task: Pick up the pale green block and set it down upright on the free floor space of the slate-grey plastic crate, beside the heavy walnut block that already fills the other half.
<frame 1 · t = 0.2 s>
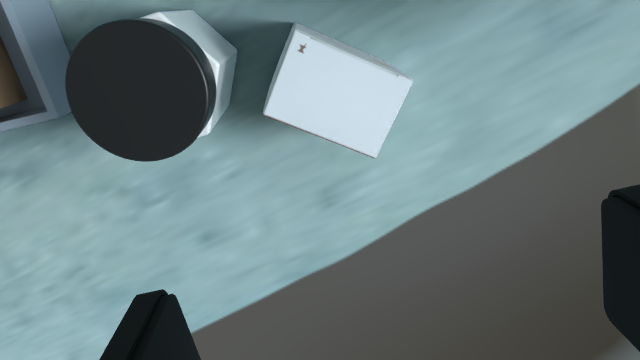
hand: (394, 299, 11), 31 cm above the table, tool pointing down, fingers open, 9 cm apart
jar: (185, 67, 39), on the table
small box: (327, 73, 40), on the table
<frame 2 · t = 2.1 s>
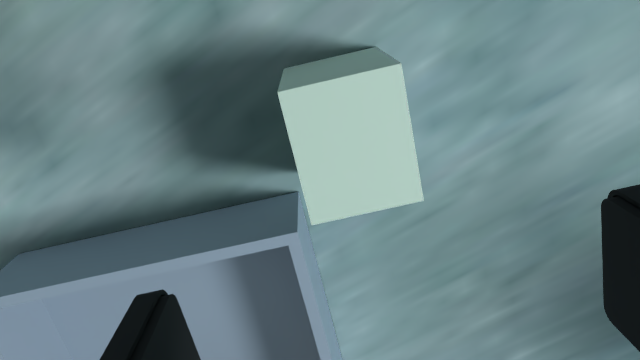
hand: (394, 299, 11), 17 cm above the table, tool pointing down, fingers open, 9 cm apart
pale green block: (341, 112, 27), on the table
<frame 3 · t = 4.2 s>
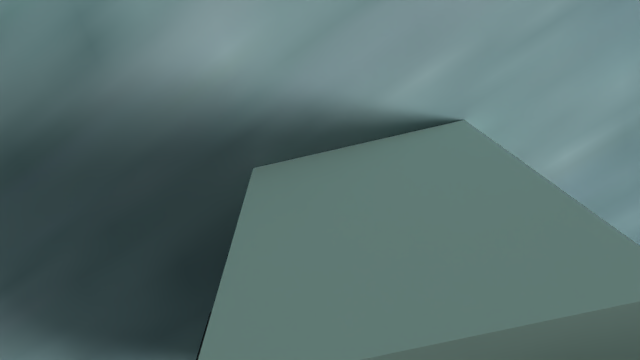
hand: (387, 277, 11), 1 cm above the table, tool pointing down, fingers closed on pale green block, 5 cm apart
pale green block: (380, 255, 12), on the table, touching gripper
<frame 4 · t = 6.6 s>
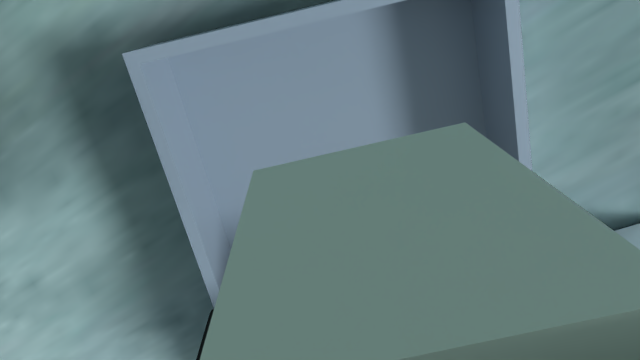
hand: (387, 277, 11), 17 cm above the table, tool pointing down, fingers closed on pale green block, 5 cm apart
jar: (633, 273, 32), on the table
crate: (353, 194, 29), on the table
pale green block: (381, 258, 12), point 16 cm above the table, touching gripper
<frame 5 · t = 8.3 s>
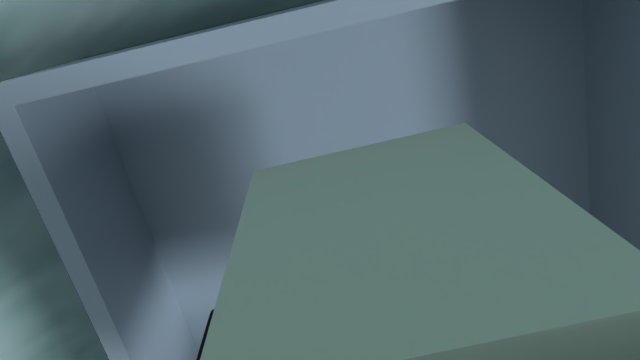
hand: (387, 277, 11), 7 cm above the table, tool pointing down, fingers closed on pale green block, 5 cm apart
crate: (383, 281, 20), on the table
pale green block: (381, 258, 12), point 6 cm above the table, touching gripper
when the fingers open (4 cm above the table, at t = 9.4 s): pale green block drops 2 cm, resting on crate.
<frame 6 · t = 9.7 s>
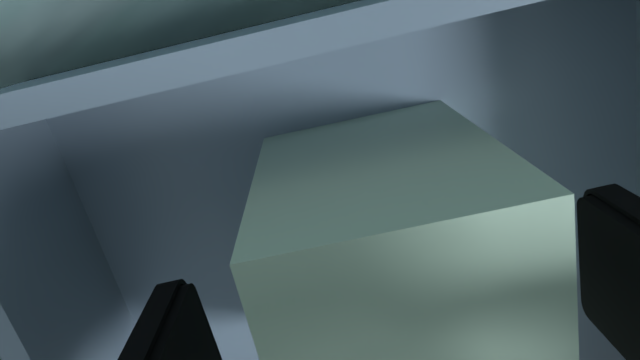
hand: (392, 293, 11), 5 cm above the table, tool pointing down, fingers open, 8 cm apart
crate: (392, 334, 17), on the table
pale green block: (370, 215, 15), point 1 cm above the table, touching crate
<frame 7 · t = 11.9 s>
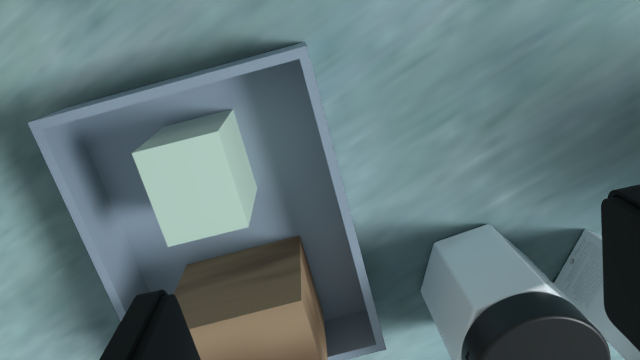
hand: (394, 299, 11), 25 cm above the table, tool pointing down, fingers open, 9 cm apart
jar: (471, 271, 40), on the table
small box: (606, 269, 40), on the table
walnut block: (256, 288, 38), point 1 cm above the table, touching crate
crate: (234, 216, 37), on the table
pale green block: (211, 158, 35), point 1 cm above the table, touching crate
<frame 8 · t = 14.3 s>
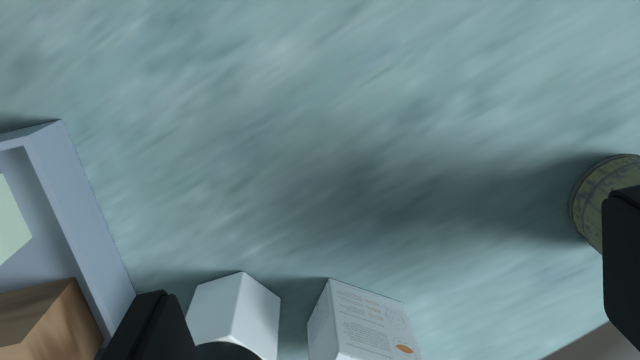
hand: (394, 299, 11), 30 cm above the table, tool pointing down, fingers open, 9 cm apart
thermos: (614, 198, 44), on the table
jar: (236, 309, 46), on the table
small box: (355, 311, 47), on the table
walnut block: (43, 319, 45), point 1 cm above the table, touching crate
crate: (19, 258, 43), on the table
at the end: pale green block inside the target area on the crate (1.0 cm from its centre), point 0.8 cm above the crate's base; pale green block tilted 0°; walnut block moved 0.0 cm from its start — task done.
